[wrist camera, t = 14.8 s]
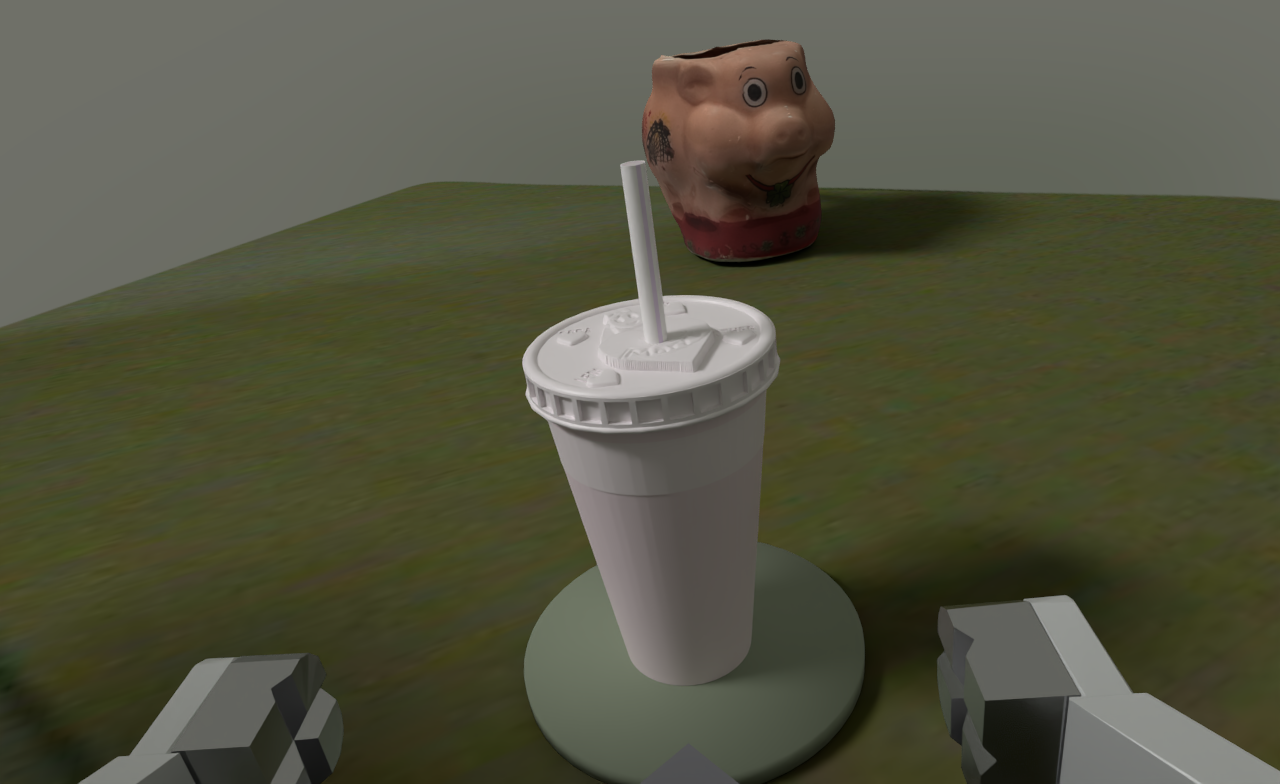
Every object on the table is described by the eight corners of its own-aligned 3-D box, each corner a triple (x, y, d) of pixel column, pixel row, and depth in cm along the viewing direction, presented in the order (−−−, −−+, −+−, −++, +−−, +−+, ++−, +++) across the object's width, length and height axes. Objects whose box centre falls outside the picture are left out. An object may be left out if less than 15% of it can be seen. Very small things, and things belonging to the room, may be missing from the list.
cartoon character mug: (613, 236, 70) (586, 57, 64) (740, 204, 74) (726, 32, 68) (735, 296, 53) (713, 60, 47) (892, 250, 57) (891, 27, 51)
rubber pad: (466, 663, 26) (461, 649, 26) (696, 517, 32) (694, 504, 31) (685, 878, 19) (682, 860, 19) (936, 640, 24) (936, 624, 24)
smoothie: (636, 762, 21) (533, 215, 15) (551, 618, 27) (451, 172, 21) (844, 662, 23) (826, 146, 17) (727, 547, 29) (682, 124, 23)
